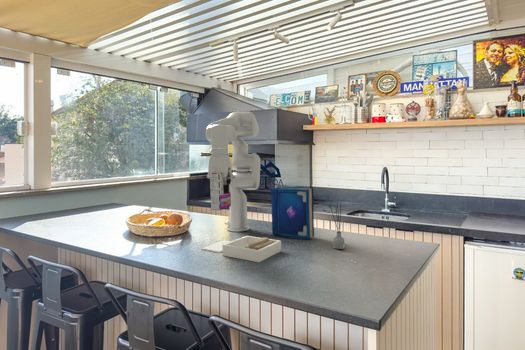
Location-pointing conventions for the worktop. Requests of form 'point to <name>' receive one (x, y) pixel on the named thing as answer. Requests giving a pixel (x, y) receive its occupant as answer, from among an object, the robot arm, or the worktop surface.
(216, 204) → the candy bar box
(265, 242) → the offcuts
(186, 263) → the worktop surface
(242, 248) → the box
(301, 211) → the book
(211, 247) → the mat
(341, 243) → the reed diffuser
